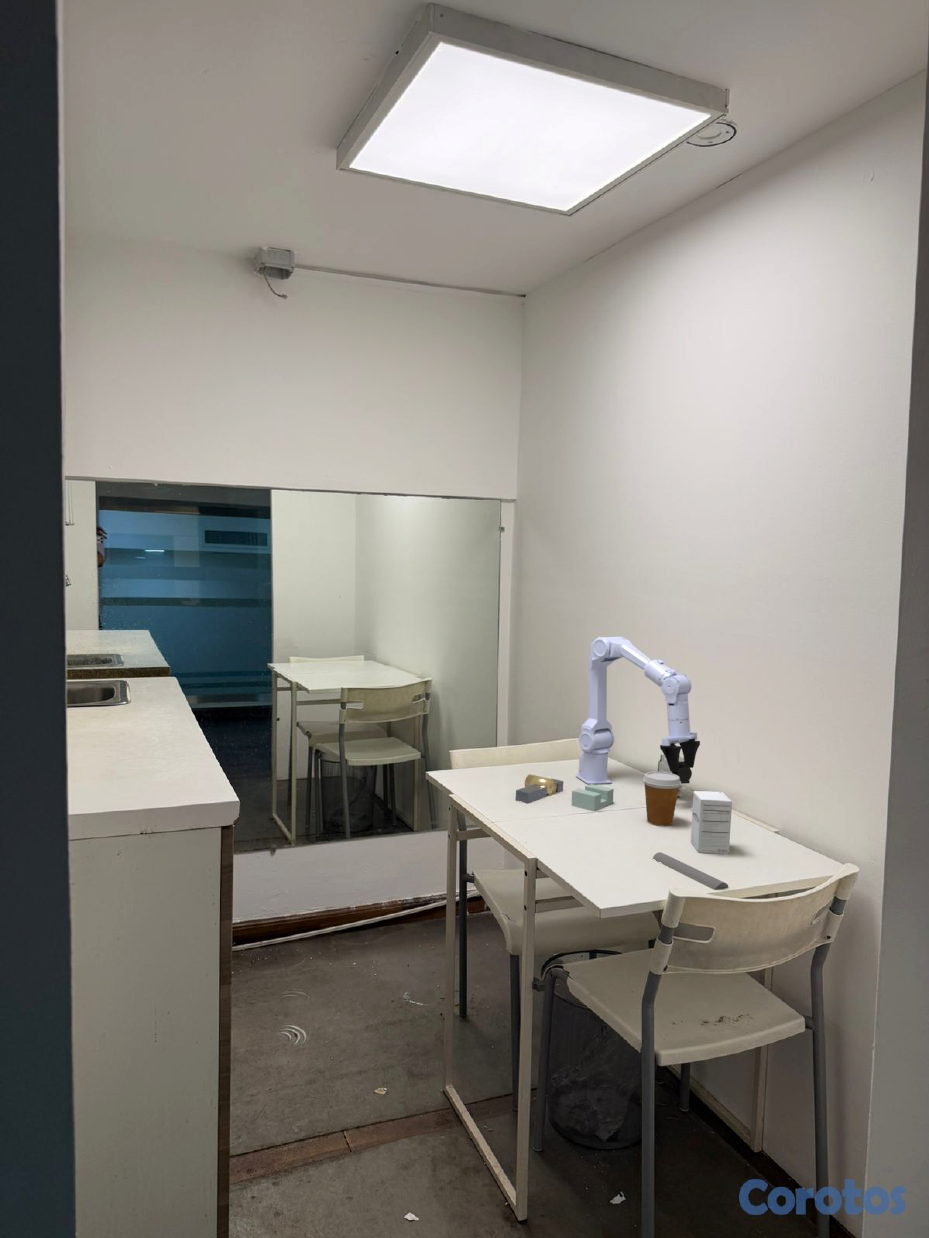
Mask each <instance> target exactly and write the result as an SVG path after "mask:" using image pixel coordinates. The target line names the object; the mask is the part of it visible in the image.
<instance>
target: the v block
mask: <svg viewBox="0 0 929 1238" xmlns="http://www.w3.org/2000/svg"><path fill="white" fill-rule="evenodd" d="M612 803H613V804H614V788H611V787H606V786H603V785H599V784H586V785H585V787H584V789H582V788H577V789H573V790H571V806H572V807H577V808H581V809H584V810H589V811H593V812H596V811H598V810H601V809H602V808H605V807H607V805H608V806H610V805H612ZM609 804H610V805H609Z"/></svg>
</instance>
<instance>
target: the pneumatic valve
mask: <svg viewBox="0 0 929 1238" xmlns="http://www.w3.org/2000/svg"><path fill="white" fill-rule="evenodd" d="M657 772H667V773H672V774H675V775H677V776H679V778H680V781H681V784H680V787H679V790H678V795H677V798H681V797H682V793H683V791H682V788H683V786H682V784H683V785H684V784H685V785H687V784H690V780H691V778H692V775H693V770H692V768H686V767H685V763H684V757H683V756H682V757H681V756H680V755H679V769H678V772H672V771H670V769H669V766H668V762H667V760H666V757H665V755H664V754H660V758H659V760H658V762H657ZM678 796H679V797H678Z"/></svg>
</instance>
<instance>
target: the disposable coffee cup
mask: <svg viewBox="0 0 929 1238" xmlns="http://www.w3.org/2000/svg"><path fill="white" fill-rule="evenodd" d="M642 781H643V783H644V793H645V795H644V796H645V809H646V821H647V822H648V823H649V824H651V825H655V826H660V825H661V826H662V827H663V826H671V825H673V821H674V816H675V810H676V807H677V806H676V804H677V800H678V797H677V795H678V790H679V787H680V785H682V784H681V781H680V778H679V776H677V775H675V774H672V773H667V772H658V771H649V772H646V773H645V774H644V777H643V778H642Z"/></svg>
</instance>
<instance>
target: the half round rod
mask: <svg viewBox="0 0 929 1238" xmlns="http://www.w3.org/2000/svg"><path fill="white" fill-rule="evenodd" d="M653 859H655V860H656V861H655V860H654V861H655V862H657V863H659V862H661V863H662V865H664V866H665V867H667V866H668V867H667V868H669V869H672V870H673V869H674V870H673V871H676V872H678V873H680V874H682V875H684V876H686V877H687V878H690V879H691V880H693V881H695V882H696V883H697V882H698V883H700V884H702V885H704V886H706V887H708V888H710V889H712V890H719V889H723V888H729V884H728V883H727V882H724V881H722V880H720V879H718V878H716V877H714V876H711V875H710V874H707V873H706V872H704V871H702V870H700V869H697V868H695V867H693V866H691V865H689V864H687V863H685V862H682V861H680V860H679V859H677V858H674V857H672V856H669V855H667V854H666V853H664V852H656V853H655V854H653V857H652V860H653ZM661 863H660V864H661Z"/></svg>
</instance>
